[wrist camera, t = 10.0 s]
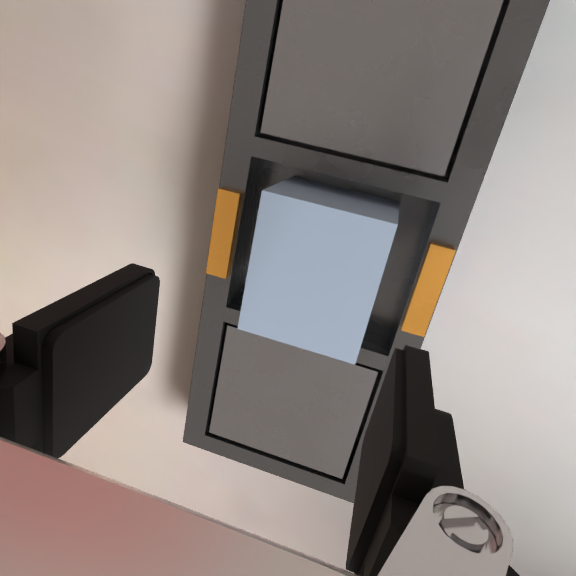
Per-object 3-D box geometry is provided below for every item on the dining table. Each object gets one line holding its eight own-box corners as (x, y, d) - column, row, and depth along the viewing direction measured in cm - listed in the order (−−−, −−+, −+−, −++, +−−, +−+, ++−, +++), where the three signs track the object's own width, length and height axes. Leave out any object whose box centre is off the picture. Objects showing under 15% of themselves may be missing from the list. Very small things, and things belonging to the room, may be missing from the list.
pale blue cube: (399, 202, 20) (397, 224, 15) (365, 315, 22) (355, 364, 18) (293, 175, 21) (261, 190, 16) (270, 288, 23) (237, 328, 18)
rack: (551, -41, 16) (579, -74, 14) (365, 472, 26) (361, 512, 23) (280, -84, 18) (259, -121, 15) (201, 415, 27) (179, 446, 25)
